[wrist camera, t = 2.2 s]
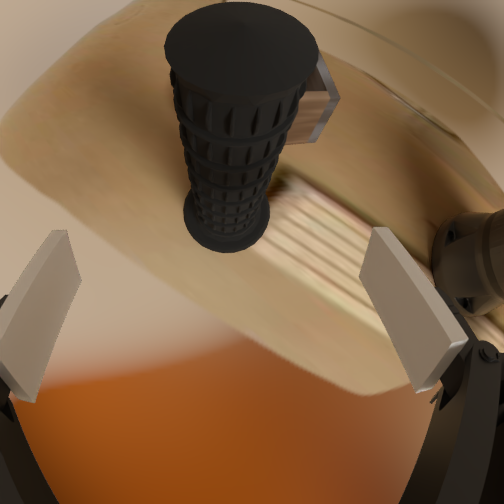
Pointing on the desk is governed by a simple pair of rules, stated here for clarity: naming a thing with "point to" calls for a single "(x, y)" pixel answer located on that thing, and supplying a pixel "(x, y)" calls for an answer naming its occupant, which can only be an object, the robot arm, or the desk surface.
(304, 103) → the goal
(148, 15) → the desk surface
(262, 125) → the handle grip
